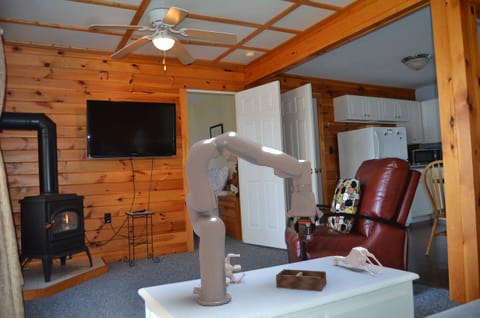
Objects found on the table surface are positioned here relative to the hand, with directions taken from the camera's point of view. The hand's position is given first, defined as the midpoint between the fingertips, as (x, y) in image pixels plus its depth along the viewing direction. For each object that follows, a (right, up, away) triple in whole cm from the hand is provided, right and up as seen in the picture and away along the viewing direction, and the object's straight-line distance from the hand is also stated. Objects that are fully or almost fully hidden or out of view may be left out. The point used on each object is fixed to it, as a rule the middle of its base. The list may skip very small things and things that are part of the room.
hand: (305, 232), depth 153 cm
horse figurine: (+26, -21, +16) cm, 37 cm away
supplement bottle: (0, -4, 0) cm, 4 cm away
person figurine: (-35, -24, +4) cm, 42 cm away
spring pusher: (-3, -20, -3) cm, 20 cm away
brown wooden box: (-2, -21, -4) cm, 21 cm away
